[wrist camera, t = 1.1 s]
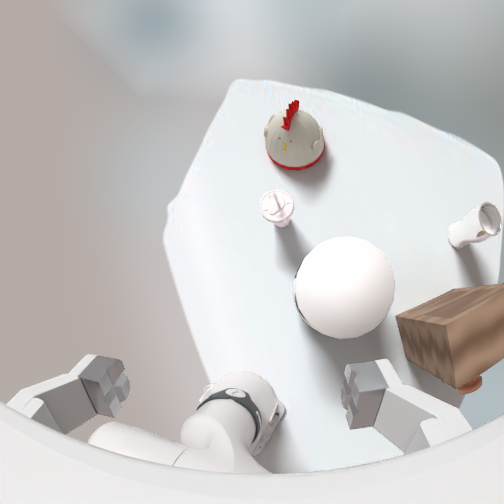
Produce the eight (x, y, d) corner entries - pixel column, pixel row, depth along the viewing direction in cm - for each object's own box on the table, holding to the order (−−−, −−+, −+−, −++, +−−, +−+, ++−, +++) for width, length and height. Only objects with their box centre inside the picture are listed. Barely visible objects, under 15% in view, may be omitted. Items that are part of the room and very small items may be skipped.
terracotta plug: (473, 377, 36) (487, 383, 31) (453, 389, 37) (465, 396, 32) (468, 338, 38) (482, 341, 33) (447, 350, 39) (460, 355, 33)
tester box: (463, 329, 48) (526, 339, 25) (406, 358, 50) (456, 388, 27) (453, 288, 50) (517, 281, 27) (395, 315, 52) (445, 325, 29)
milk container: (361, 239, 56) (381, 214, 39) (384, 317, 53) (413, 324, 35) (284, 262, 59) (273, 248, 42) (306, 341, 55) (304, 361, 38)
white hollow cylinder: (443, 222, 53) (474, 201, 38) (465, 220, 51) (497, 200, 37) (448, 251, 51) (482, 238, 37) (470, 249, 50) (505, 235, 36)
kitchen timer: (257, 160, 64) (243, 125, 50) (278, 116, 65) (269, 77, 51) (313, 177, 61) (313, 143, 46) (331, 131, 62) (333, 92, 47)
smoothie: (301, 212, 60) (298, 187, 46) (288, 238, 60) (282, 220, 46) (274, 201, 61) (264, 174, 48) (262, 226, 61) (248, 206, 48)
